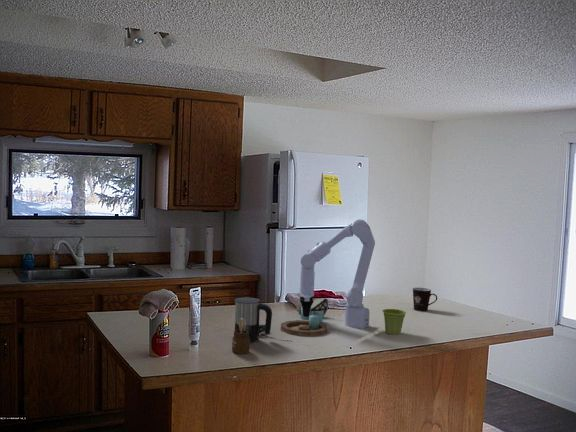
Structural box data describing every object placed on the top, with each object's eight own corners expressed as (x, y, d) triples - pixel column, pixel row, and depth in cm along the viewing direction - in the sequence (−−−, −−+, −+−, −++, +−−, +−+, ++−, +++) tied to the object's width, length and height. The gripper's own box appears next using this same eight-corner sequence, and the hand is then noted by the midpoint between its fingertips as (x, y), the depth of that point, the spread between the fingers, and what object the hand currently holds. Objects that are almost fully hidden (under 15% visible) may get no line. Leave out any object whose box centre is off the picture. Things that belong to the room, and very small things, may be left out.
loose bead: (324, 324, 254) (324, 312, 253) (319, 325, 250) (320, 313, 250) (315, 322, 256) (316, 310, 255) (311, 324, 252) (311, 312, 252)
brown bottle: (249, 349, 211) (251, 315, 211) (248, 354, 205) (250, 319, 204) (232, 348, 211) (233, 314, 210) (231, 354, 205) (232, 318, 204)
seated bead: (320, 328, 241) (321, 316, 241) (315, 330, 238) (316, 317, 238) (311, 326, 243) (312, 314, 243) (306, 328, 240) (307, 316, 240)
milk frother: (235, 343, 218) (237, 302, 217) (227, 331, 234) (229, 293, 233) (273, 342, 222) (275, 302, 221) (264, 331, 237) (265, 293, 236)
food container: (298, 322, 266) (313, 324, 259) (293, 310, 265) (309, 311, 257) (317, 309, 274) (332, 310, 266) (312, 296, 272) (328, 298, 265)
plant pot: (408, 332, 246) (409, 311, 246) (400, 337, 238) (401, 315, 238) (386, 328, 251) (387, 307, 251) (377, 333, 243) (379, 311, 242)
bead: (312, 318, 254) (312, 306, 253) (307, 320, 250) (308, 308, 250) (303, 317, 256) (304, 305, 255) (299, 318, 252) (299, 306, 252)
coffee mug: (407, 308, 293) (409, 287, 293) (422, 307, 297) (423, 287, 296) (422, 313, 283) (424, 292, 282) (437, 312, 286) (439, 291, 286)
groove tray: (334, 331, 242) (335, 325, 242) (313, 341, 226) (313, 334, 226) (295, 324, 251) (295, 318, 251) (271, 332, 235) (272, 326, 235)
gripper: (297, 279, 259) (296, 310, 260) (297, 285, 245) (296, 318, 245) (314, 280, 259) (312, 311, 260) (315, 286, 245) (313, 319, 245)
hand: (305, 315), depth 253 cm, fingers closed on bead, 4 cm apart
